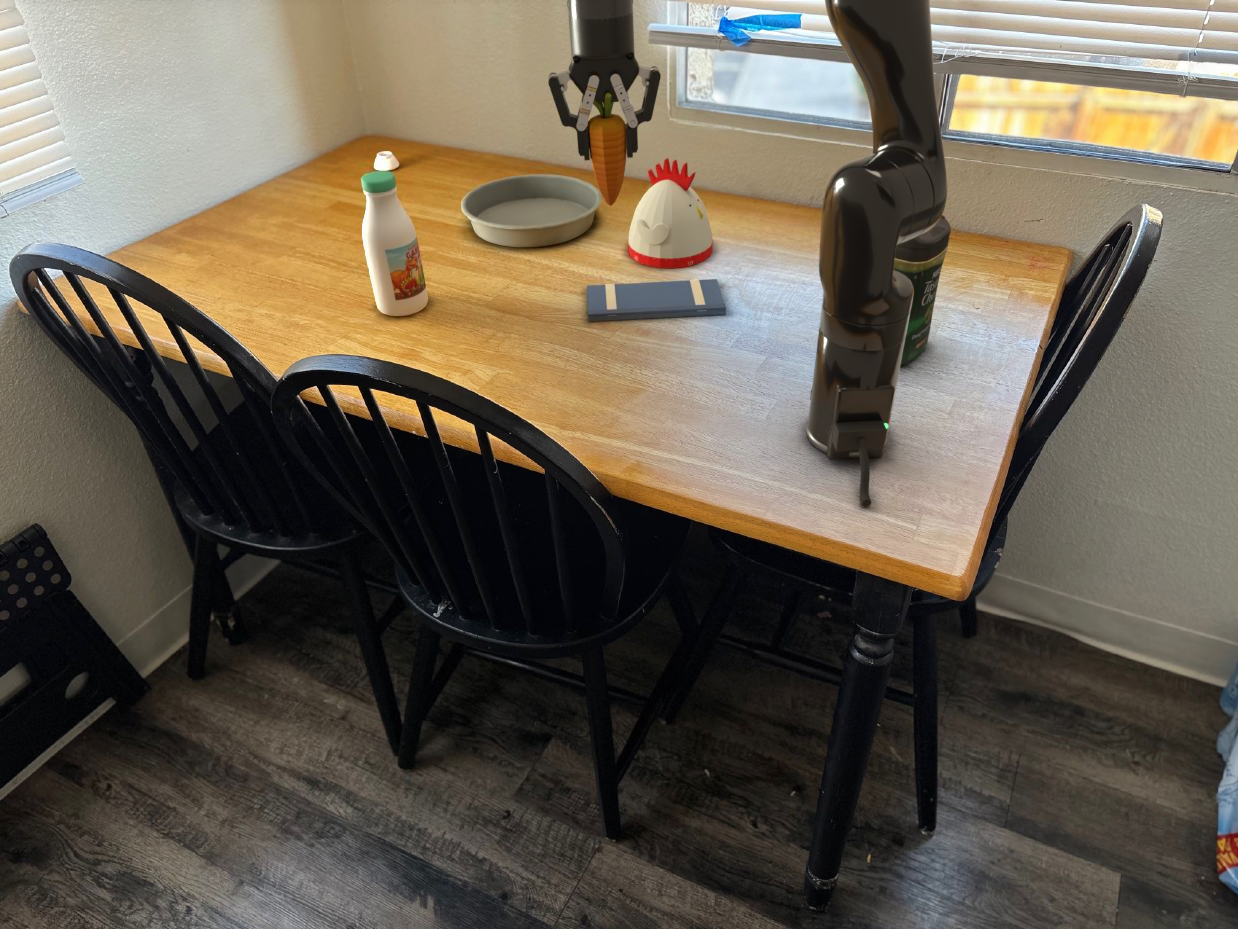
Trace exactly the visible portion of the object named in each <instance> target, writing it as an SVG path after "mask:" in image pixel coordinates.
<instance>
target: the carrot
mask: <svg viewBox="0 0 1238 929" xmlns="http://www.w3.org/2000/svg"><path fill="white" fill-rule="evenodd" d="M611 96H612V95H611V94H610V93H607V94H606V95H605V101H604V102H601V103H597V102H596V101H595V100H594V101H593V105H592V106H594V107H595V108H596V109H597V110H598V112H599V114H597V115H595V116H593V117H591V118H589V119H588V122H587V128H588V139H589V154H590V162H591V167H592V171H593V175H594V178H595V182H596V184H597V186H598V190H599V191H600V193H601V195H602V198H603V199H604V201H605V202H606V204H608V205H609V206H610V207H612V206H614V204H615V203H616V202H617V199H618V197H619V196H620V192H621V189H622V187H623V184H624V178H625V172H626V164H627V151H626V125H625V124H626V122H625V120H624V119H623V118H622V117H621V116H620V115H619V114H617V113H612V112H613V107H614V104H615V102H611Z"/></svg>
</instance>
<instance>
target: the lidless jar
mask: <svg viewBox="0 0 1238 929" xmlns="http://www.w3.org/2000/svg"><path fill="white" fill-rule="evenodd" d="M399 167H400V162H399V160H398V159H397V157H395V155H394V154H393V152H392V151H390V150H389V151H388V150H385V151H380V152H377V153H376V157H375V159H374V164H373V169H375V170H376V171H388V172H391V171H393V170H396V169H397V168H399Z"/></svg>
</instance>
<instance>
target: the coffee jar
mask: <svg viewBox="0 0 1238 929" xmlns="http://www.w3.org/2000/svg"><path fill="white" fill-rule="evenodd" d="M951 231H952V228H951V224H950V222H949V221H948V220H947V218H946V216H945V215H943V214H942V216H941V218H940V220H939V221H938V222H937V224H936V225H935V226H934V227H933V228H932V229H930V230H929V231H928V232H926V233H924V234H923V235H921V236H918V237H916V238H914V239H912V240H909V241H907V242H905V243H903V244H900V245H898V246H897V247H896V252H895V261H894V269H895V270H897V271H899V272H901V273H903V274H904V275H906V276H907V277H908V278H909V279H910V281H911V282H912V284H913V288H914V295H913V301H912V307H911V312H910V317H909V323H908V328H907V333H906V338H905V343H904V349H903V354H902V360H901V365H905V364H907V363H909V362H910V361H912V360H913V359H914V358H916V357H917V356H919V355H920V354H921V353H922V351H924V349H925V348H926V347H927V345H928V341H929V337H930V332H931V326H932V320H933V314H934V308H935V302H936V297H937V292H938V287H939V282H940V277H941V273H942V269H943V265H944V261H945V258H946V255H947V251H948V248H949V242H950V235H951Z"/></svg>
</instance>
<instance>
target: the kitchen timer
mask: <svg viewBox="0 0 1238 929" xmlns="http://www.w3.org/2000/svg"><path fill="white" fill-rule="evenodd" d="M688 165H689V164H688V162H685V163H683V164H682V167H681V170H680V171H679V164H678V159H674V160H673V161H672V164H670V159H669V157H666V158H665V159H664V160H663V165H661V163H658V162H657V163H656V164H655V167H654V168H655V171H656V172H655V173H656V175H655V173H654V171H653V169H652V168H650V169H648V170H647V175H648V178H649V180H650V183H651V186H650V187H649V188H648V189H647V190H646V192H644V194H643V196H642V197H641V199H640V200H639V202H638V204H637V206H636V208H635V211H634V212H633V217H632V220H631V223H630V226H629V230H628V255H629V256H630V258H631V259H632V260H634V261H636V262H637V263H639V264H642V265H645V266H648V267H651V268H659V269H680V268H687V267H691V266H695V265H698V264H700V263H702V262H705V261H706V260H707V259H708V258H710V257H711V256H712V253H713V246H714V244H713V243H714V239H713V232H712V227H711V223H710V221H709V217H708V216H709V215H708V212H707V210H706V207H705V204H704V202H703V200H702V199H701V198H700V196H699V195H698V193H697V192H696V191H695V190H694V189H693V188H692V187H691V185H692V183H693V181H694V178H695V177H696V173H697V172H696V171H694V172H693V173H691V175H689V168H688ZM662 166H663V167H662Z"/></svg>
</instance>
